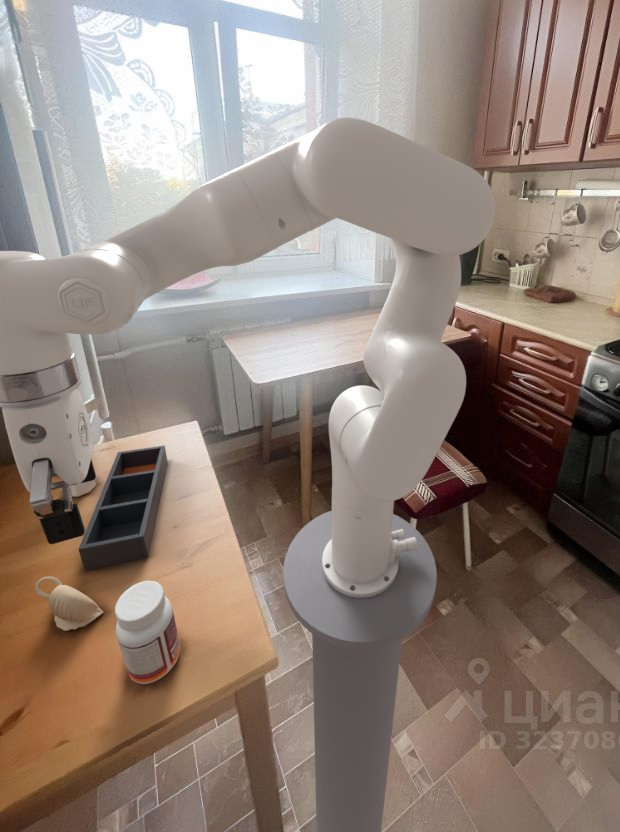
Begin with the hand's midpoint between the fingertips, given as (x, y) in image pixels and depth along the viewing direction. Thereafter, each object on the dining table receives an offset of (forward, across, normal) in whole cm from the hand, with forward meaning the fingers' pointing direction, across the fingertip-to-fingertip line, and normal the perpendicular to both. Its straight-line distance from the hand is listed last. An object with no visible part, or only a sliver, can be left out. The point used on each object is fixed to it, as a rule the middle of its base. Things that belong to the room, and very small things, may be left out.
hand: (75, 507), depth 46 cm
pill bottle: (+22, -7, -5) cm, 23 cm away
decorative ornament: (+22, +5, +5) cm, 23 cm away
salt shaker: (+22, +34, +8) cm, 42 cm away
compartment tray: (+22, +24, -2) cm, 32 cm away
